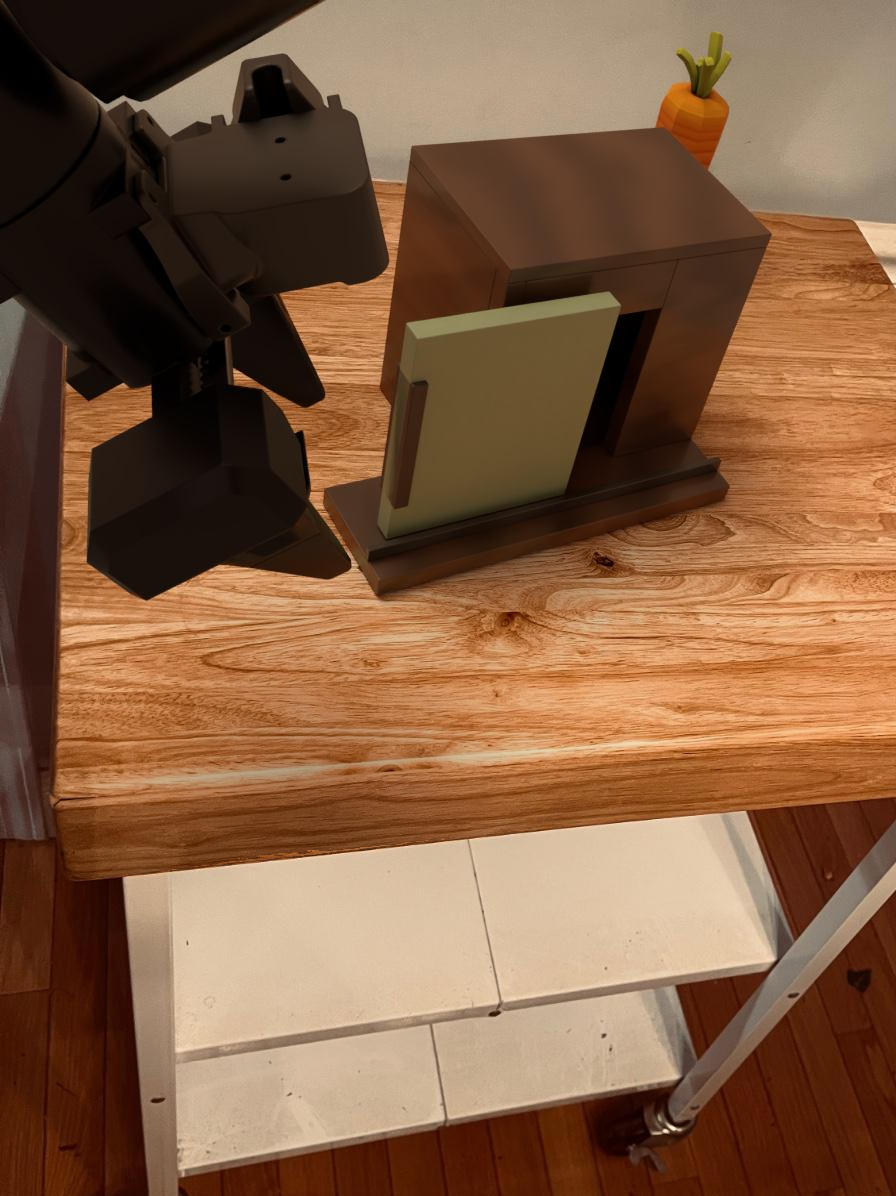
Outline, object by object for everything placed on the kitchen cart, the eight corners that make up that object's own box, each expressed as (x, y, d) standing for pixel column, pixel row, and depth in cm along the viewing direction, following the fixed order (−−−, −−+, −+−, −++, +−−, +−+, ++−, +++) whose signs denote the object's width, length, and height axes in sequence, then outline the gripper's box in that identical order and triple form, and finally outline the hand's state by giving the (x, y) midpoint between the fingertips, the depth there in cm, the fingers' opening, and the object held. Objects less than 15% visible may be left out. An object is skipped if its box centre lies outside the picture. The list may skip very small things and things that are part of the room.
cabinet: (376, 596, 61) (414, 350, 49) (266, 408, 68) (277, 154, 56) (724, 499, 72) (821, 281, 61) (599, 347, 79) (664, 126, 68)
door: (388, 544, 62) (420, 343, 52) (374, 520, 62) (402, 318, 53) (567, 498, 67) (625, 309, 58) (551, 477, 68) (606, 287, 58)
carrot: (663, 260, 88) (726, 64, 77) (612, 227, 90) (667, 29, 79) (700, 240, 91) (765, 49, 80) (650, 208, 93) (708, 16, 82)
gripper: (289, 222, 26) (569, 577, 39) (239, -120, 37) (469, 240, 50) (-108, 441, 28) (278, 713, 41) (-44, 53, 39) (244, 359, 52)
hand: (327, 480), depth 46 cm, fingers open, 9 cm apart
